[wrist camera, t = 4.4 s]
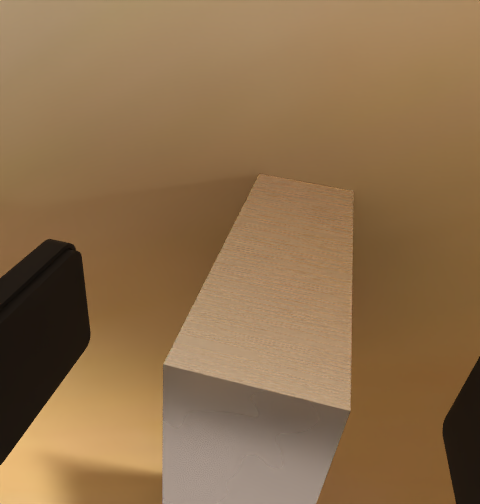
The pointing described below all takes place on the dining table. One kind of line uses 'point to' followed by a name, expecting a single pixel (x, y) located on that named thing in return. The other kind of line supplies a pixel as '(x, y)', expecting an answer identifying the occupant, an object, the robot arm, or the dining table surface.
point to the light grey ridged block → (264, 354)
